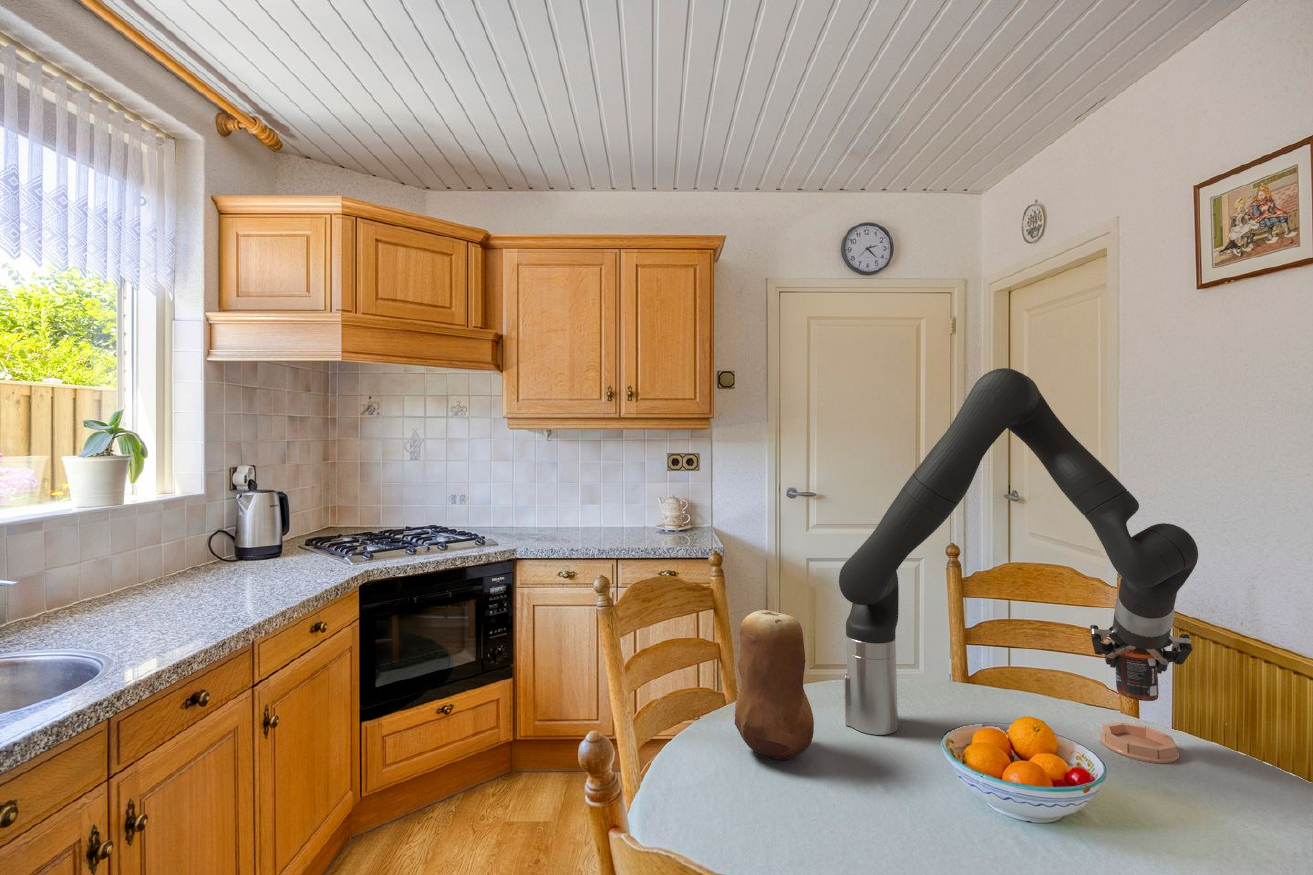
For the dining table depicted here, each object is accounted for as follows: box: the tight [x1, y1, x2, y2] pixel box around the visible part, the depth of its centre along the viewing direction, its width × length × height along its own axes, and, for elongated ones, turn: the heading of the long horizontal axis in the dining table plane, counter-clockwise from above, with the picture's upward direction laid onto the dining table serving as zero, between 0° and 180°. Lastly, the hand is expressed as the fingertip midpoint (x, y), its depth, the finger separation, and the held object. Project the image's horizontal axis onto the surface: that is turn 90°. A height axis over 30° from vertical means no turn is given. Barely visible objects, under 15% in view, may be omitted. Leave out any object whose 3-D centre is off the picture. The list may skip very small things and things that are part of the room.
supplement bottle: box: [1114, 651, 1159, 702], centre depth 108 cm, size 6×6×11 cm
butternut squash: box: [734, 609, 815, 761], centre depth 109 cm, size 14×13×25 cm
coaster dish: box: [1099, 721, 1180, 764], centre depth 108 cm, size 11×11×2 cm
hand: (1134, 665), depth 110 cm, fingers closed on supplement bottle, 6 cm apart
